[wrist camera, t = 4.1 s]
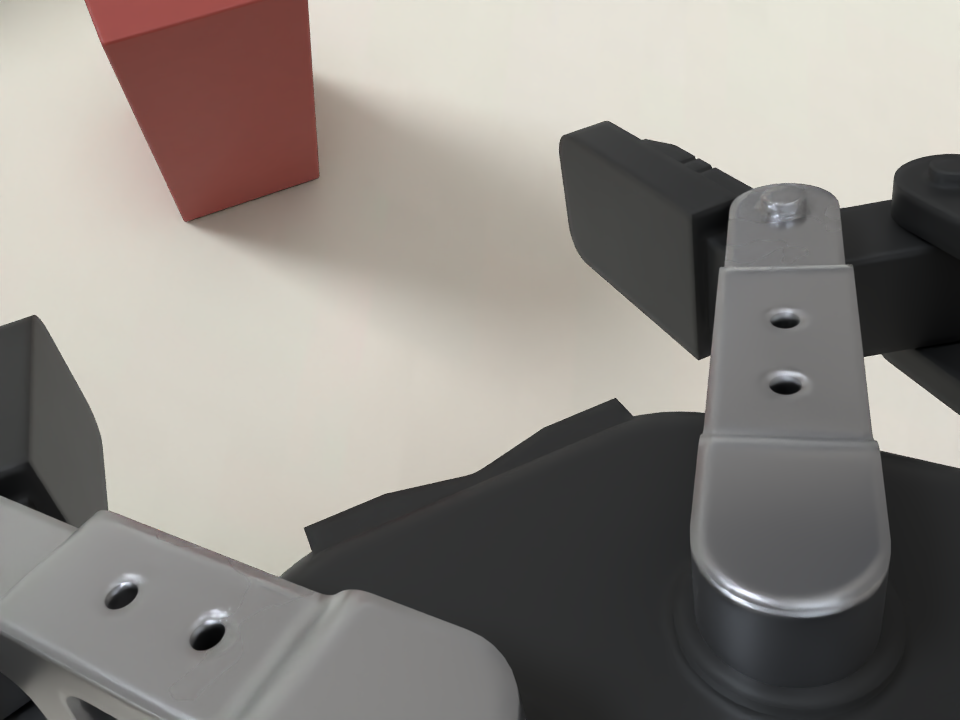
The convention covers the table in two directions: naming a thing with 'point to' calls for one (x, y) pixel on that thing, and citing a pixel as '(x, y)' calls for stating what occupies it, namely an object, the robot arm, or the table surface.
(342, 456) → the table surface
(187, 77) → the tall red block
